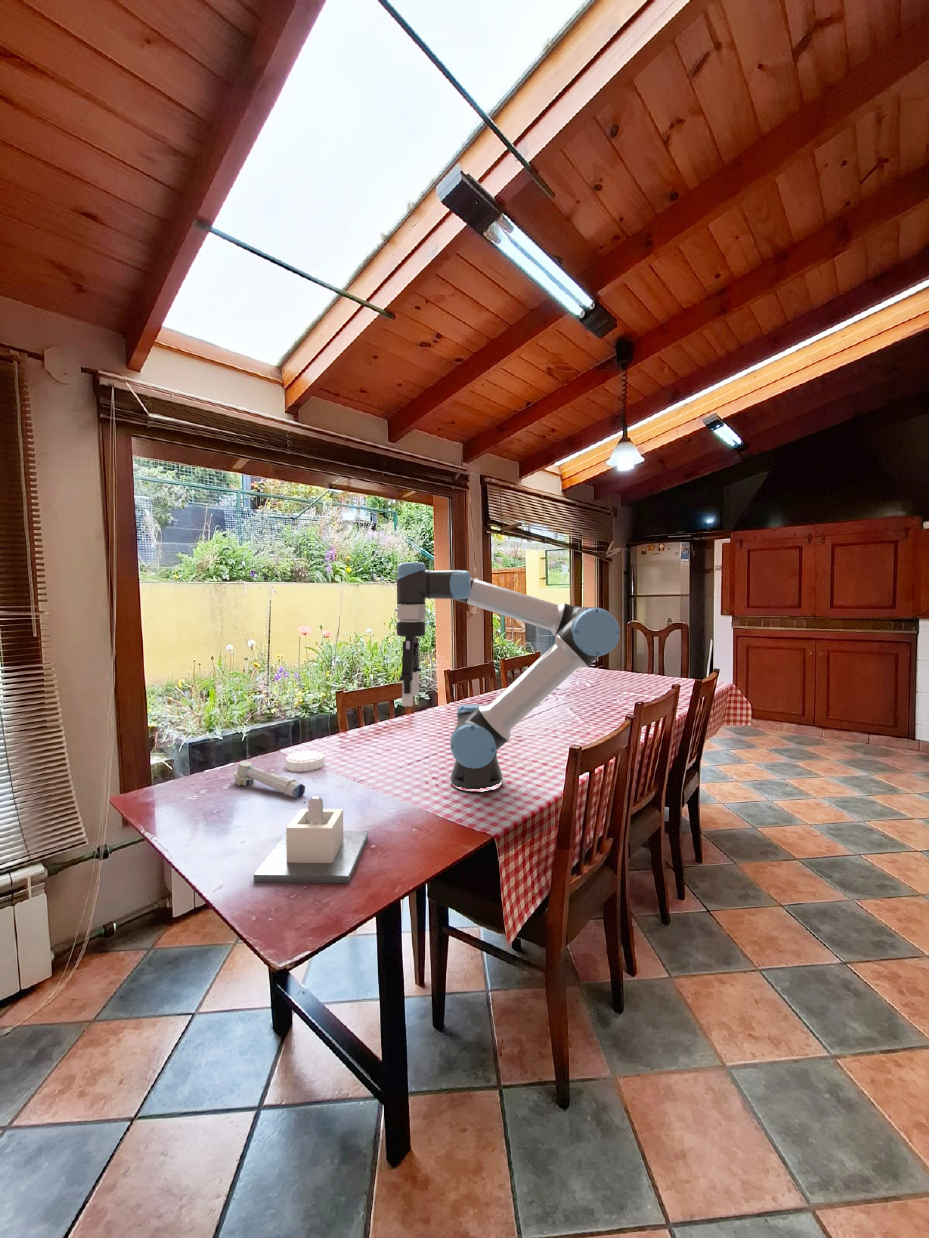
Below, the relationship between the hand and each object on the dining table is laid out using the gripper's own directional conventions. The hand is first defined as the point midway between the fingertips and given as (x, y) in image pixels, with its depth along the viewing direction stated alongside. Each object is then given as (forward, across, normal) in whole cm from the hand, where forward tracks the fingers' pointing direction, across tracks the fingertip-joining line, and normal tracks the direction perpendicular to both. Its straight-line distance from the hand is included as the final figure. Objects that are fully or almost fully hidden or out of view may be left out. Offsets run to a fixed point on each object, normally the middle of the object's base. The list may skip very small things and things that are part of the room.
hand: (410, 700), depth 133 cm
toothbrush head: (+27, -6, -41) cm, 49 cm away
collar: (+25, +31, -16) cm, 43 cm away
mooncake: (+27, -26, -37) cm, 53 cm away
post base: (+27, +31, -16) cm, 44 cm away
